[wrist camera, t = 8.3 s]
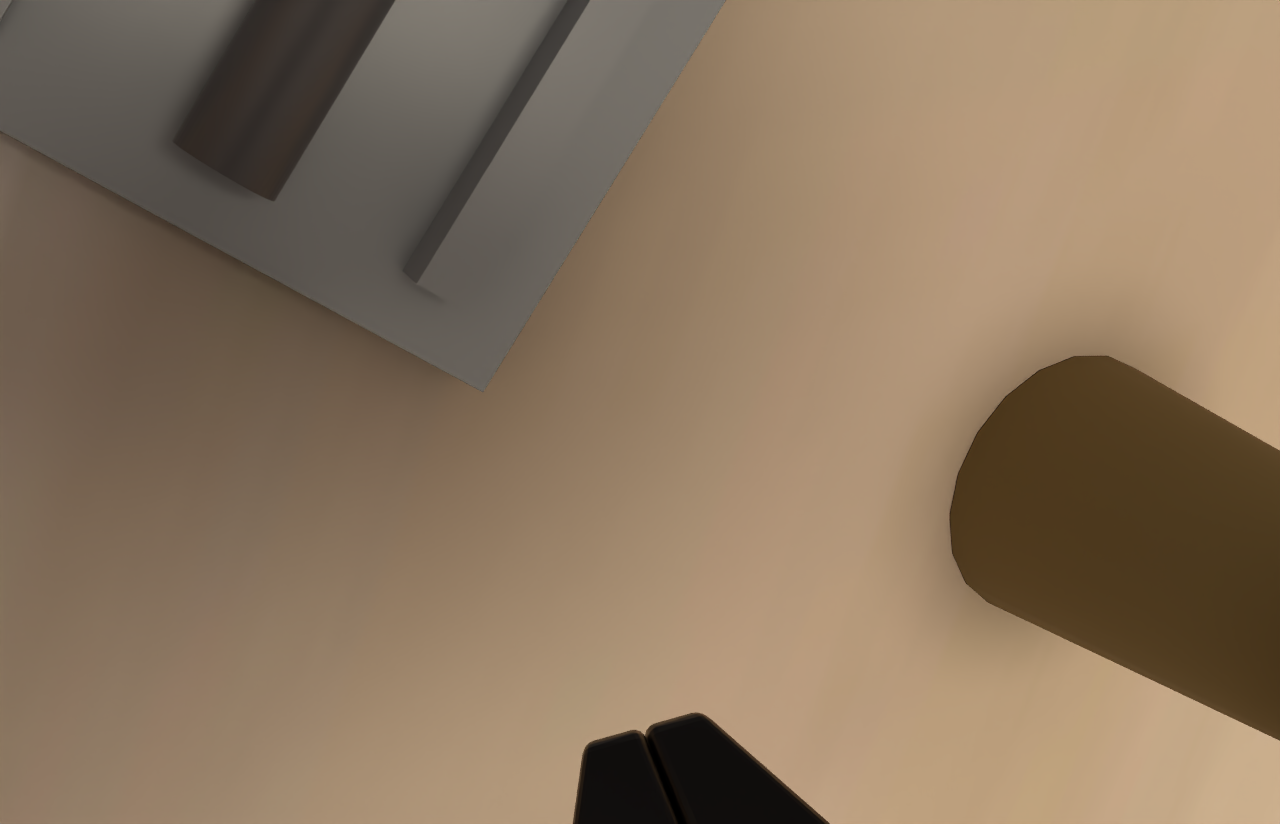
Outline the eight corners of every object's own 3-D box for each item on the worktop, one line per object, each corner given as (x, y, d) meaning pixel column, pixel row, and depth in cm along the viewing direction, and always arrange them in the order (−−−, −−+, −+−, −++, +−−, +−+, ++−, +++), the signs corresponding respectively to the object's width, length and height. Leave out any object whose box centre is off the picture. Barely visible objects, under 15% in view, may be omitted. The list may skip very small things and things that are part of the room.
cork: (1004, 335, 24) (1613, 572, 15) (1198, 374, 27) (1811, 593, 17) (914, 605, 25) (1415, 978, 16) (1108, 614, 28) (1628, 936, 19)
